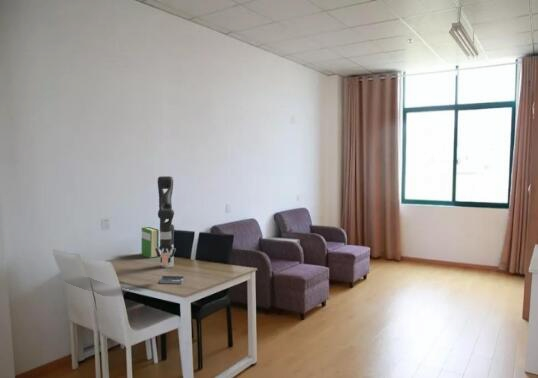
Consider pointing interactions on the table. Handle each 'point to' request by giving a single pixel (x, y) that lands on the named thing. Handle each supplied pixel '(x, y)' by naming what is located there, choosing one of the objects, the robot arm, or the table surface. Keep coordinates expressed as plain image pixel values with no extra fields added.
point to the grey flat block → (172, 279)
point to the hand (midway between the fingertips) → (165, 262)
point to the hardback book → (150, 241)
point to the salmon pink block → (165, 259)
